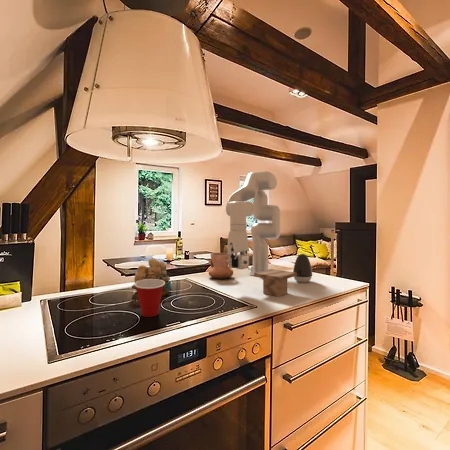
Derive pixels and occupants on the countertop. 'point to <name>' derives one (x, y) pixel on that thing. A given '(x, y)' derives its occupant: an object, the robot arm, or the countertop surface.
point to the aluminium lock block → (240, 261)
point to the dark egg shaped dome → (302, 269)
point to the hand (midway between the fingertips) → (238, 265)
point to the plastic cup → (149, 296)
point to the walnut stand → (275, 281)
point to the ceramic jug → (220, 266)
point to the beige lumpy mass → (152, 275)
